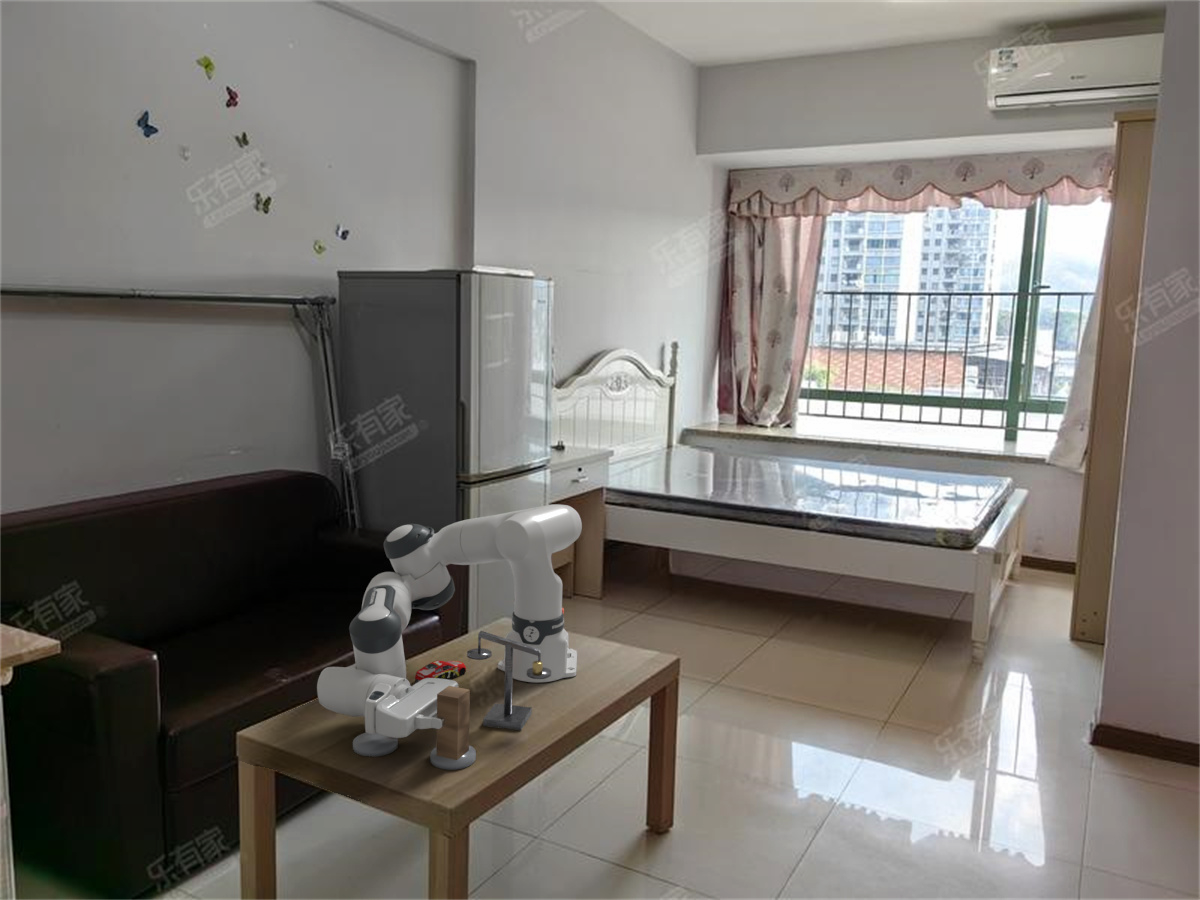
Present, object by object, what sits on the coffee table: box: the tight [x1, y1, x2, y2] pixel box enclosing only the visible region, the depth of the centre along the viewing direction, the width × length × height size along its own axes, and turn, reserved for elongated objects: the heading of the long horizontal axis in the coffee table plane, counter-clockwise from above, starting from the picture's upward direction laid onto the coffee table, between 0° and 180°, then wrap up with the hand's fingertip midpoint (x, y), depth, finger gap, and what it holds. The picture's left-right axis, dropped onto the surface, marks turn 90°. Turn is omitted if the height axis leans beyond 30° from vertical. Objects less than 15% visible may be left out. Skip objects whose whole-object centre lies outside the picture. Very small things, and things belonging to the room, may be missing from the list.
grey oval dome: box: [352, 732, 399, 758], centre depth 180 cm, size 8×8×1 cm
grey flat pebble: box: [429, 744, 477, 771], centre depth 176 cm, size 8×8×1 cm
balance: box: [466, 630, 551, 731], centre depth 192 cm, size 8×18×18 cm, turn 79°
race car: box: [414, 660, 467, 683], centre depth 214 cm, size 13×5×4 cm, turn 140°
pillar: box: [436, 686, 471, 760], centre depth 175 cm, size 4×4×12 cm
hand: (455, 713), depth 174 cm, fingers open, 8 cm apart
